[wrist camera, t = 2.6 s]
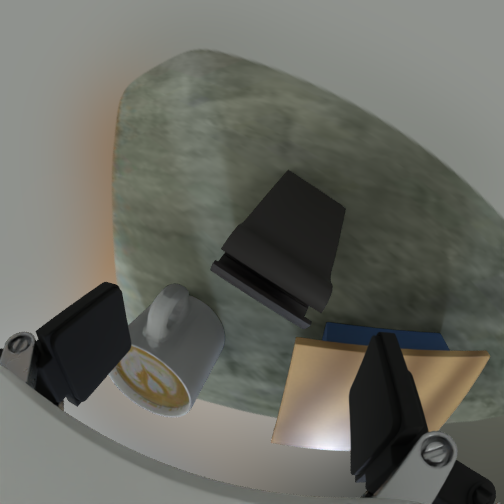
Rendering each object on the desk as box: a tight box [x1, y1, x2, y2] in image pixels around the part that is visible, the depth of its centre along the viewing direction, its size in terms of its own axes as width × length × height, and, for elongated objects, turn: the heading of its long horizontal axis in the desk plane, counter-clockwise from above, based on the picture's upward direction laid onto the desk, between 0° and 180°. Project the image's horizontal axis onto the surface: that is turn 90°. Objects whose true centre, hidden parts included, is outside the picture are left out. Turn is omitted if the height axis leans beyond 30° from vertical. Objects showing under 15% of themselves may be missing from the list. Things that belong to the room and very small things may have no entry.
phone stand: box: [210, 170, 346, 329], centre depth 19 cm, size 9×6×12 cm, turn 149°
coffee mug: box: [108, 283, 225, 417], centre depth 26 cm, size 13×10×10 cm
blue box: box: [322, 322, 450, 351], centre depth 25 cm, size 14×12×6 cm
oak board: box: [271, 337, 490, 451], centre depth 21 cm, size 20×16×1 cm
